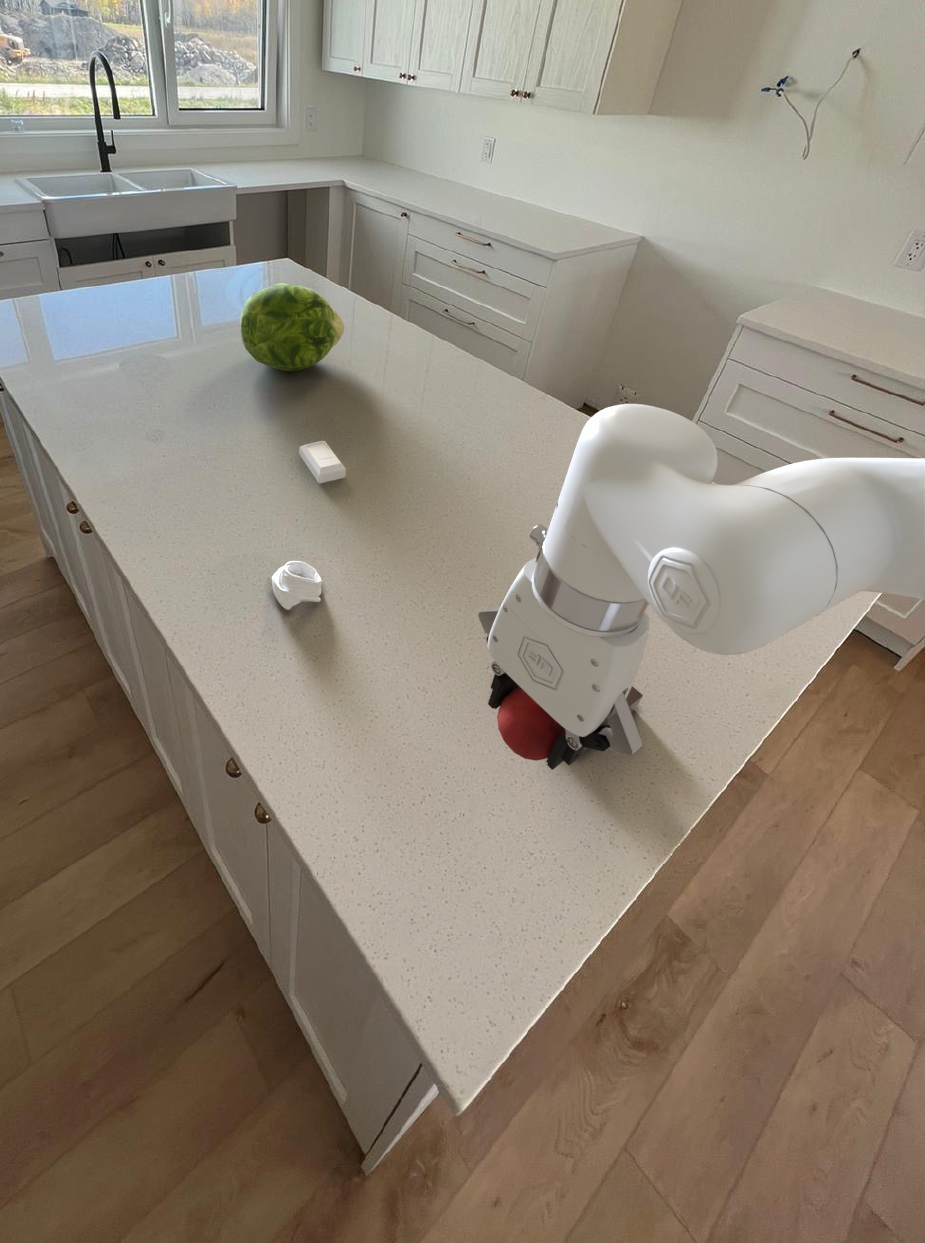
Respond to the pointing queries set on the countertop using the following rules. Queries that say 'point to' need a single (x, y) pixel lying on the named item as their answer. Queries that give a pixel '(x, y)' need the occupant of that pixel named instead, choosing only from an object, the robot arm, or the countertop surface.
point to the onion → (527, 726)
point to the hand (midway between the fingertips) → (530, 726)
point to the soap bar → (322, 462)
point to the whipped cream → (296, 584)
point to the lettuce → (289, 327)
